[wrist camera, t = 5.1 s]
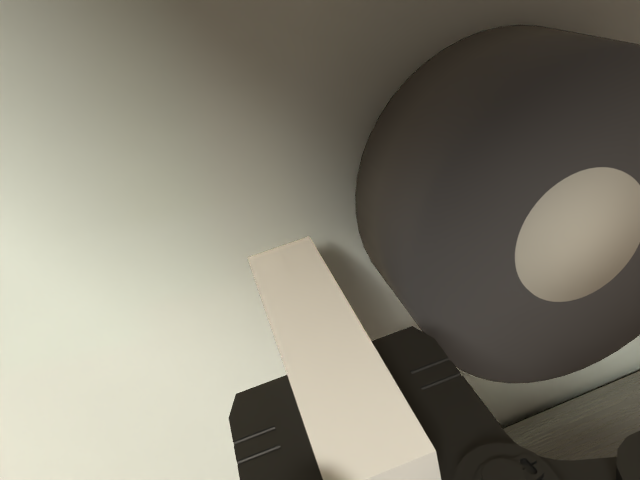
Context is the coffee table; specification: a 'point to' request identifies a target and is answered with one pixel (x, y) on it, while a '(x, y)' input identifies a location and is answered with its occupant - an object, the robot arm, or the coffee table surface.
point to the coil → (512, 200)
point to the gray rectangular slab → (584, 423)
